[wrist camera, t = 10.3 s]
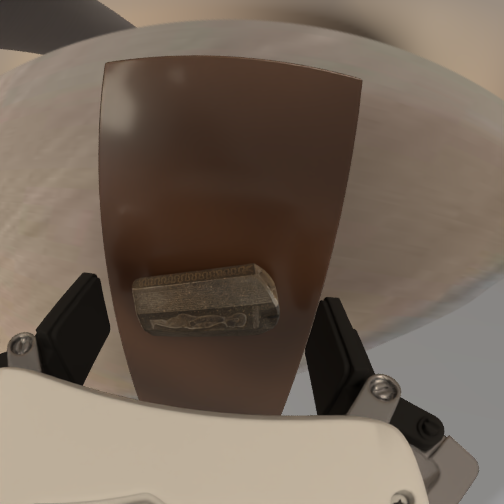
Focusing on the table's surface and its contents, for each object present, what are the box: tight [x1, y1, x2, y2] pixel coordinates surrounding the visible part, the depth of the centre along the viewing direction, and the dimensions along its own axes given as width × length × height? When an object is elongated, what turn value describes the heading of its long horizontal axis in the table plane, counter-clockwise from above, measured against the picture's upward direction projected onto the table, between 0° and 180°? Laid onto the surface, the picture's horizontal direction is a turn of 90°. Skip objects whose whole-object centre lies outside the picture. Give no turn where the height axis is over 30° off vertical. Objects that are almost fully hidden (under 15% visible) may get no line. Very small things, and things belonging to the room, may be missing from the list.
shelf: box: [99, 55, 362, 416], centre depth 17 cm, size 20×10×10 cm, turn 174°
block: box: [132, 263, 280, 337], centre depth 12 cm, size 4×6×2 cm, turn 95°
